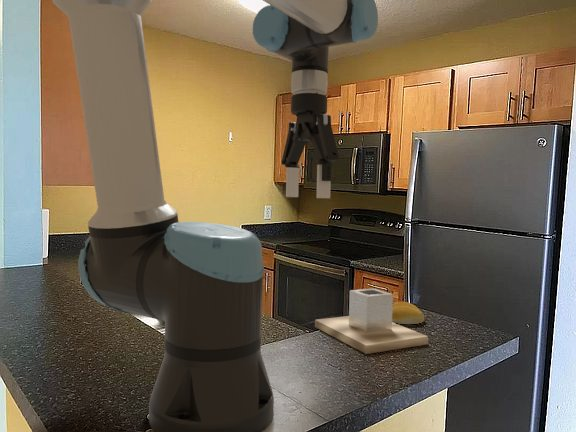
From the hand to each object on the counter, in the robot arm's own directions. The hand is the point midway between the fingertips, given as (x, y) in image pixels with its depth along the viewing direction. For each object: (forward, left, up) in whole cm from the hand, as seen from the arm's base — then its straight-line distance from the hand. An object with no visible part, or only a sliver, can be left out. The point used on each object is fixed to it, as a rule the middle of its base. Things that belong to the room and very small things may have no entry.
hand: (306, 197), depth 99 cm
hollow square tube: (-12, -8, -25) cm, 29 cm away
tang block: (-12, -8, -27) cm, 30 cm away
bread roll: (-6, -22, -27) cm, 36 cm away
